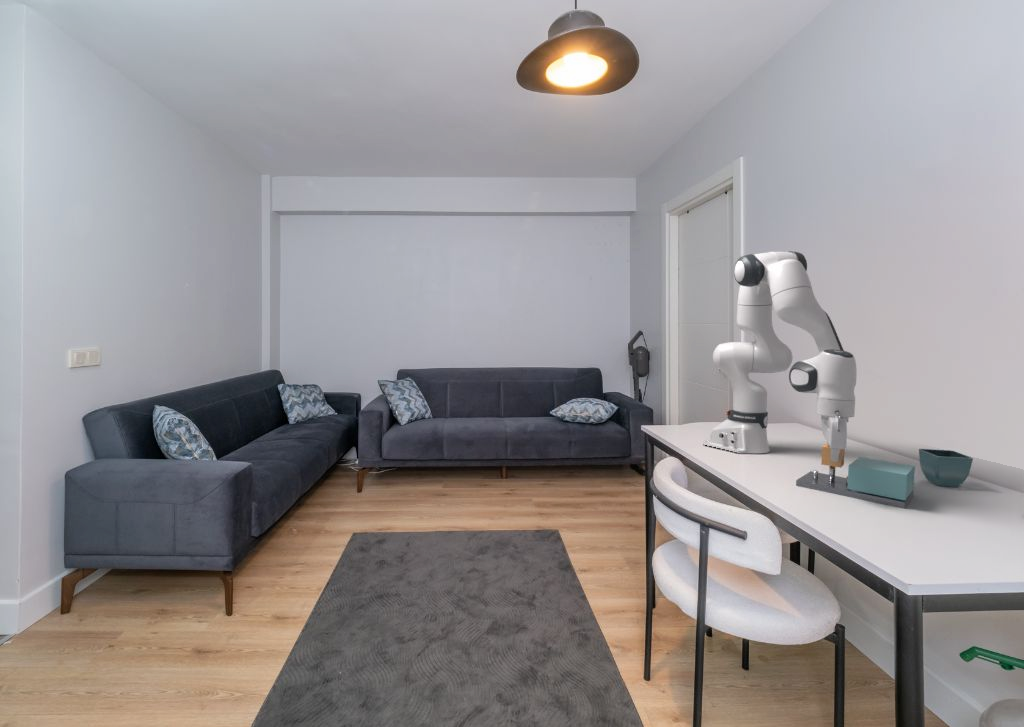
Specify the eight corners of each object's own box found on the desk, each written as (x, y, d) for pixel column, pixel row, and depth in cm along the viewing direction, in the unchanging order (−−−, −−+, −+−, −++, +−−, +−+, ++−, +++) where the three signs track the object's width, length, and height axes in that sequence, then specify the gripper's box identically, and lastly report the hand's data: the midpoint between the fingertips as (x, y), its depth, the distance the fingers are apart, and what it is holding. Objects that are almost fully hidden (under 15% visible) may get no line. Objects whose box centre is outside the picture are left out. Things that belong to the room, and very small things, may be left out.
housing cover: (847, 488, 130) (848, 464, 129) (858, 479, 138) (859, 457, 138) (905, 500, 121) (906, 474, 121) (913, 489, 129) (914, 465, 129)
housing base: (796, 485, 138) (796, 464, 138) (810, 476, 147) (811, 456, 147) (904, 508, 121) (905, 484, 120) (913, 496, 130) (914, 473, 129)
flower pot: (972, 490, 135) (974, 457, 134) (935, 488, 137) (937, 456, 136) (950, 480, 144) (952, 450, 143) (916, 478, 145) (917, 448, 145)
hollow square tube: (821, 464, 137) (822, 446, 137) (824, 461, 140) (825, 443, 140) (840, 467, 134) (841, 449, 134) (843, 464, 137) (844, 446, 137)
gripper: (854, 415, 125) (852, 469, 126) (844, 404, 144) (841, 451, 144) (825, 413, 128) (822, 465, 129) (818, 403, 146) (816, 449, 147)
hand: (832, 458), depth 137 cm, fingers closed on hollow square tube, 5 cm apart
